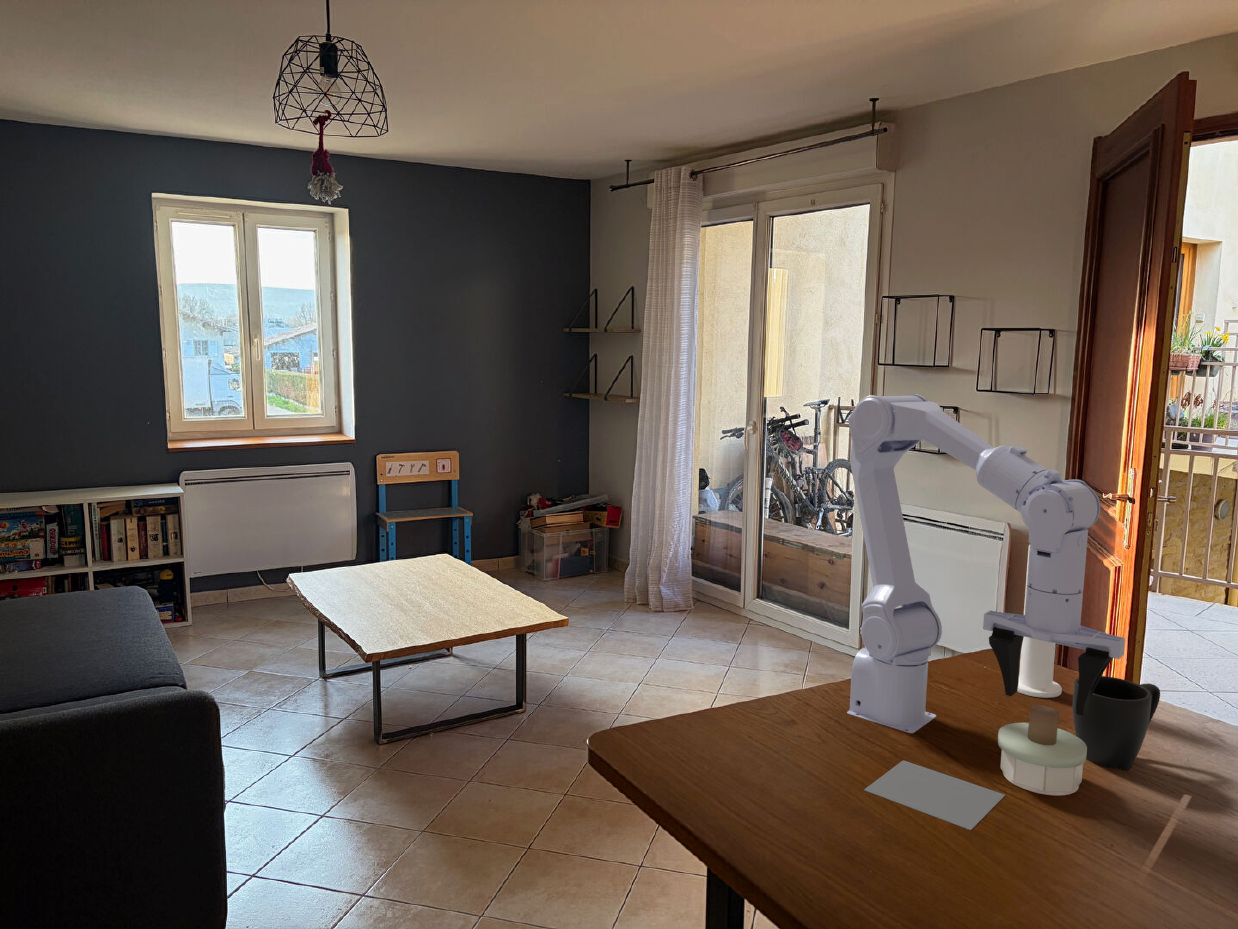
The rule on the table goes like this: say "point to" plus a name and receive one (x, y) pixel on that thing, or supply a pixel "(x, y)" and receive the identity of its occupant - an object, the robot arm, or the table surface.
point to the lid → (1042, 741)
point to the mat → (936, 794)
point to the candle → (1037, 666)
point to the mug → (1115, 720)
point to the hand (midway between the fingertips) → (1045, 702)
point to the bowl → (1041, 776)
